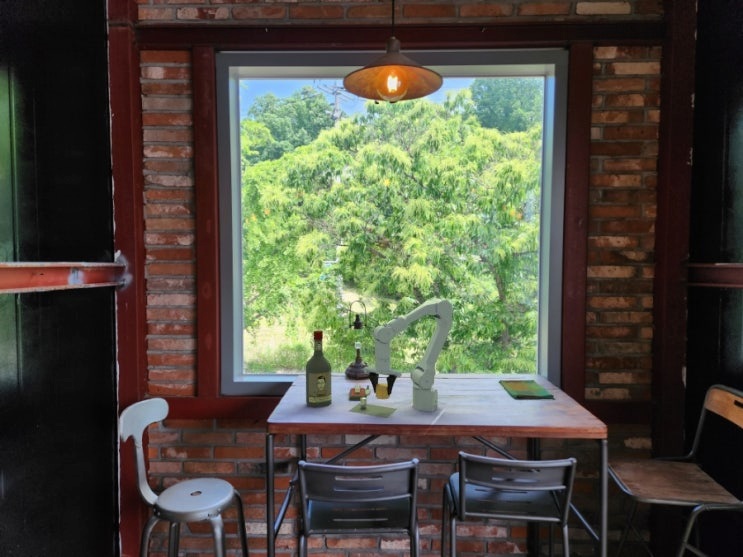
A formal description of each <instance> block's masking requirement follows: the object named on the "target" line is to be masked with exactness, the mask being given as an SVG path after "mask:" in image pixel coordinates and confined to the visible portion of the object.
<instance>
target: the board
mask: <svg viewBox="0 0 743 557" xmlns="http://www.w3.org/2000/svg"><path fill="white" fill-rule="evenodd" d="M397 409H398V408H394V407H388V406H381V405H375V404H370V403H367V409H364V410H363V409H360V402H359V403H357V404H356V405H355V406H353V407H352V408H351V409H349V410H348V412H351V413H357V414H362V415H368V416H373V417H378V418H386V419H388V418H389V417H390V416H391V415H393V413H395V411H397Z"/></svg>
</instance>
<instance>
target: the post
mask: <svg viewBox="0 0 743 557" xmlns="http://www.w3.org/2000/svg"><path fill="white" fill-rule="evenodd" d="M367 400H368V398H367V397H362V398H360V400H359V401H360V402H359V403H360V409H363V410H364V409H367V404H368V402H367Z"/></svg>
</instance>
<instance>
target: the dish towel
mask: <svg viewBox="0 0 743 557" xmlns="http://www.w3.org/2000/svg"><path fill="white" fill-rule="evenodd" d="M499 383H500V384H501V385H502V386H503V387H504V388H503V387H502V386H501V385H500V384H499ZM498 384H499V385H500V386H501V387H502V388H503V389H504V390H505V391H506V392H507V394H509V395H510V396H511V397H512V398H513V399H514V398H515V399H514V400H540V399H553V400H555V395H553V393H550V392H549V391H548V390H547V389H545V388H544V387H543V386H542V385H541V384H538V383H537V381H535V379H520V380H518V379H517V380H514V379H513V380H512V379H509V380H507V379H506V380H501V379H500V380H498Z"/></svg>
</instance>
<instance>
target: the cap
mask: <svg viewBox="0 0 743 557" xmlns="http://www.w3.org/2000/svg"><path fill="white" fill-rule="evenodd" d="M390 397H391V394H390V395H388V385H387V383H381V382H380V383H378V384H377V385H376V393H375V398H376V399H378V400H388V399H389V398H390Z"/></svg>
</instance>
